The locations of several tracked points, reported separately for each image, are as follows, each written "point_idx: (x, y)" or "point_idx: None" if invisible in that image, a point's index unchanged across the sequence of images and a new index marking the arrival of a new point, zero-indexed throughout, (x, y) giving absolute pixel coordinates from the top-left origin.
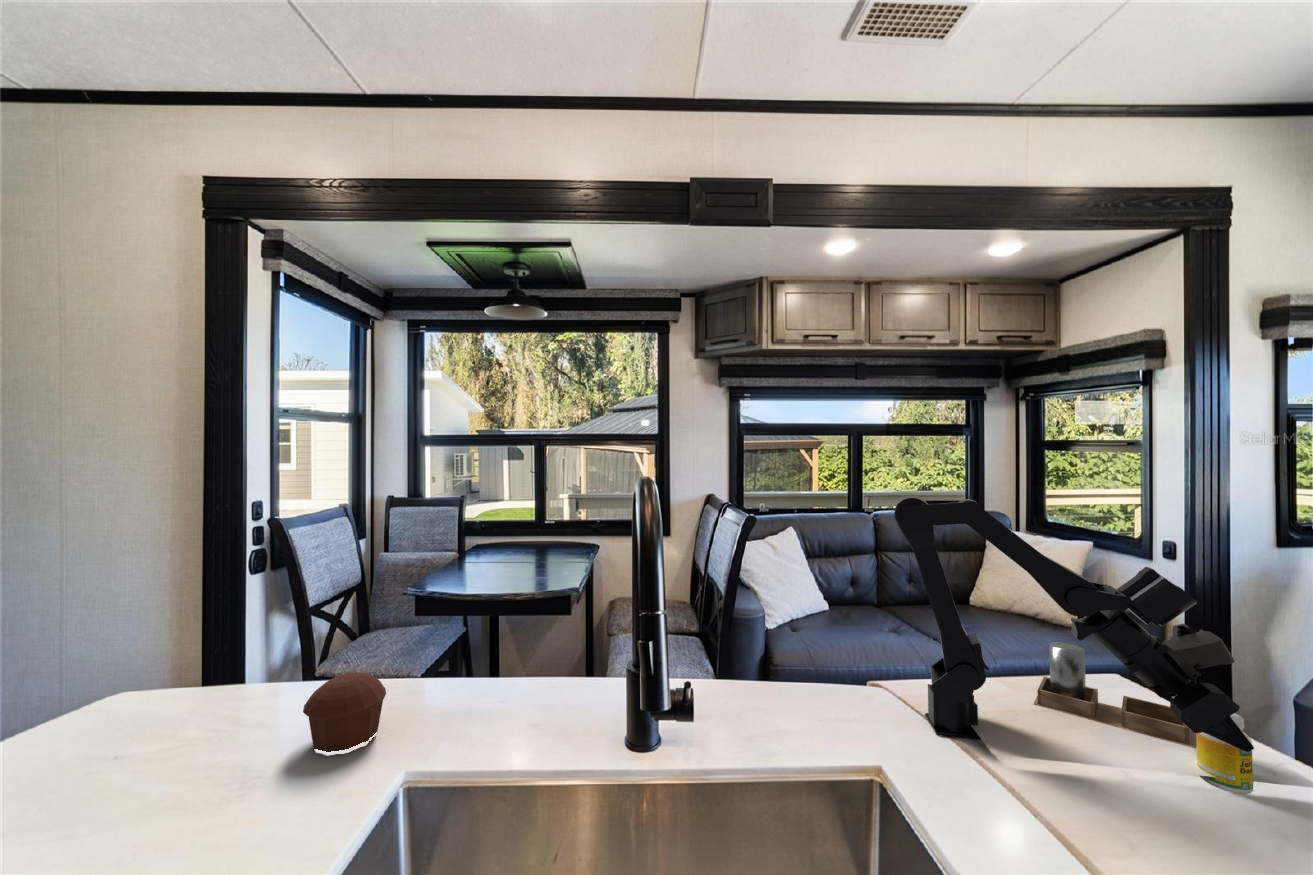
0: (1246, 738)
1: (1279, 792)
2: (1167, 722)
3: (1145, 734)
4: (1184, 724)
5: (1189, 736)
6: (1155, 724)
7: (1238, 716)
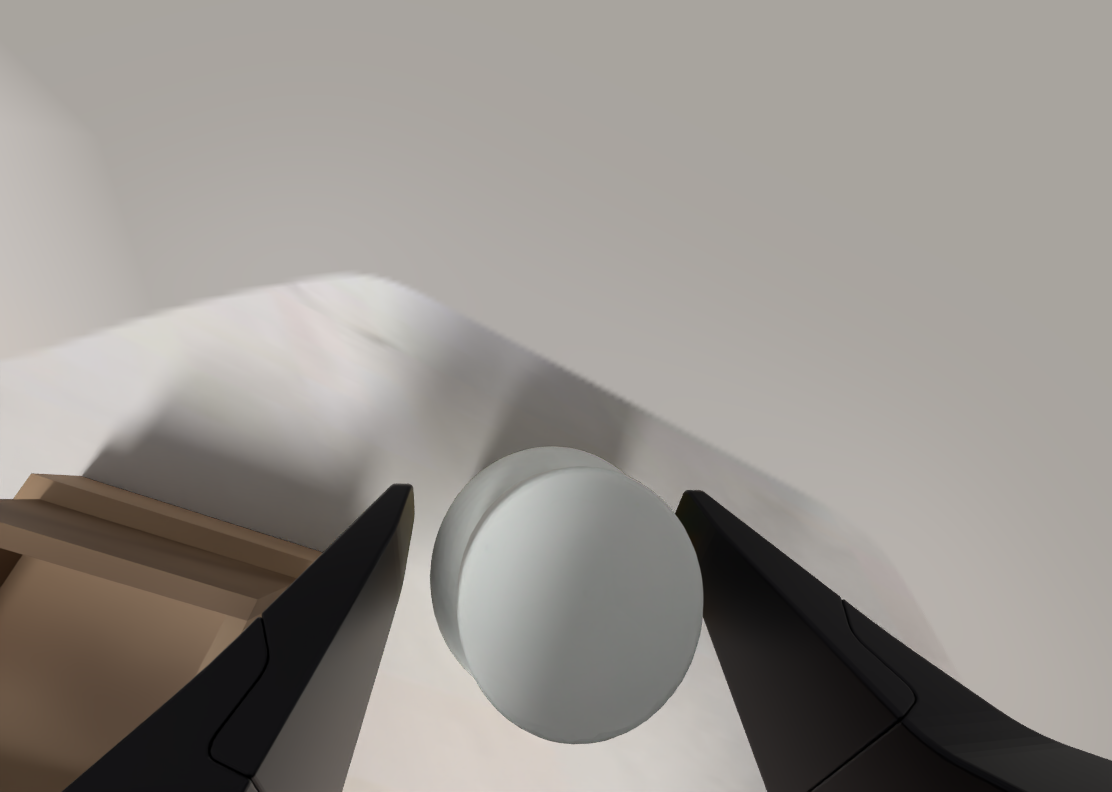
0: (758, 535)
1: (513, 392)
2: None
3: None
4: (199, 606)
5: (189, 541)
6: None
7: (581, 485)
